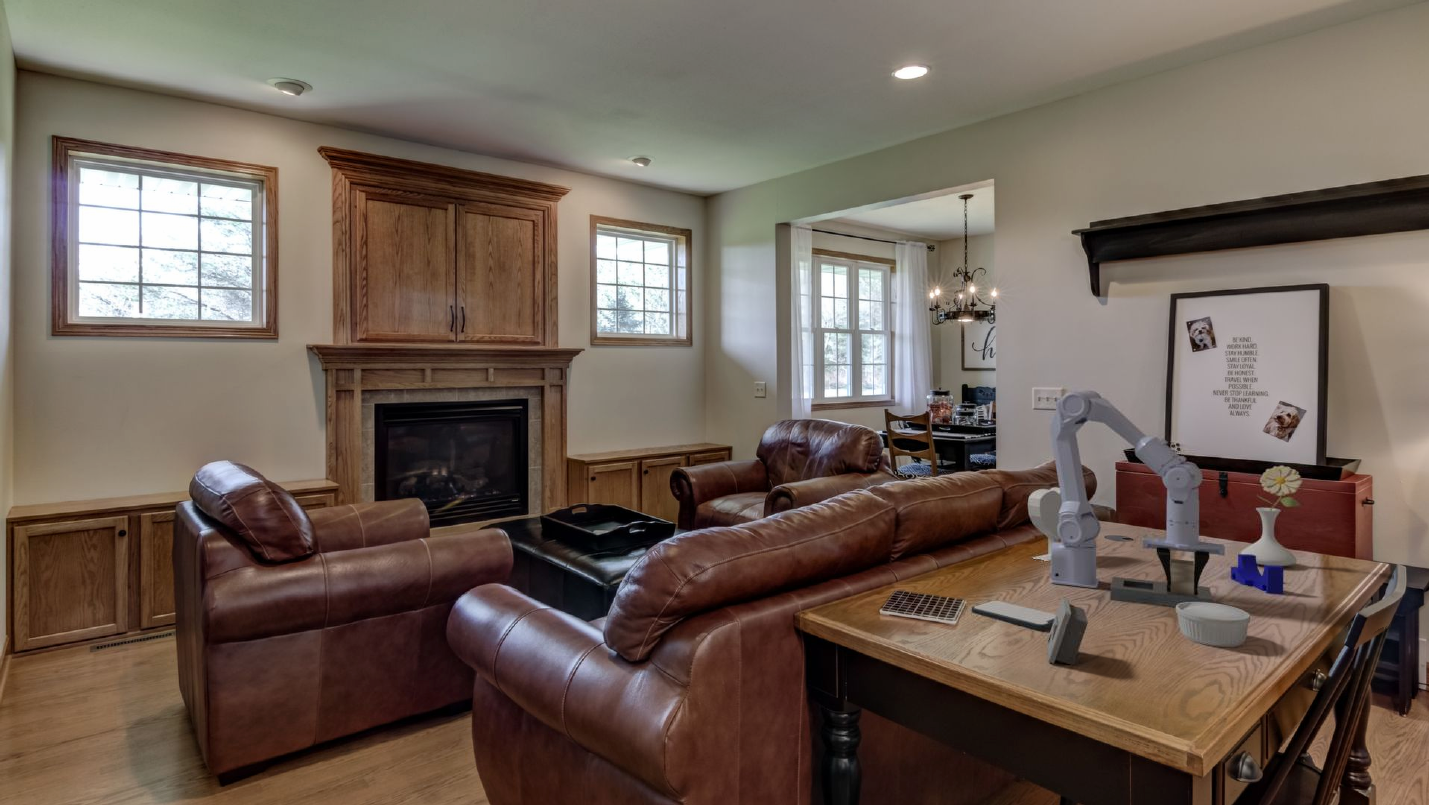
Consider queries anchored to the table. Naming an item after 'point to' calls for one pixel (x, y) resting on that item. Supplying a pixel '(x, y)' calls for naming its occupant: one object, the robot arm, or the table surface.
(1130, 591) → the grey slotted board
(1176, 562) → the peg
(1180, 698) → the table surface
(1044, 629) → the phone case
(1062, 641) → the electrical switch
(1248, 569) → the cable clip
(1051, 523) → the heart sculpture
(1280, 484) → the flower in vase
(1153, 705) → the table surface
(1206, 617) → the ramekin
